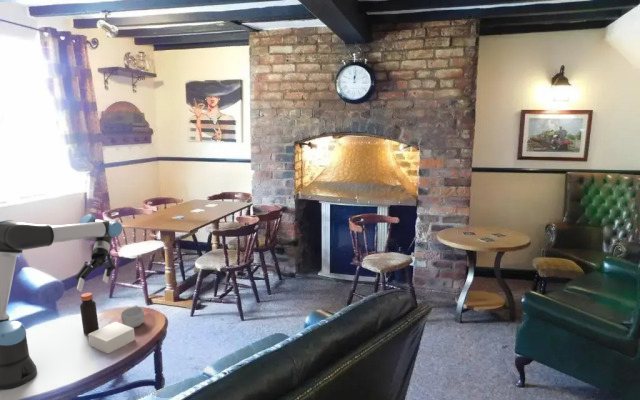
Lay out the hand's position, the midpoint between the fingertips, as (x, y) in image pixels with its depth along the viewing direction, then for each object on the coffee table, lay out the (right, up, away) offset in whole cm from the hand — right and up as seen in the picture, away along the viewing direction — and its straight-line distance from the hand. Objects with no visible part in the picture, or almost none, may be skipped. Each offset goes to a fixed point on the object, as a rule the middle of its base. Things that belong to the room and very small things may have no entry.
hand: (92, 286), depth 205 cm
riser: (+10, -27, -1) cm, 29 cm away
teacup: (+13, -23, +18) cm, 32 cm away
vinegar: (-5, -25, +10) cm, 28 cm away
